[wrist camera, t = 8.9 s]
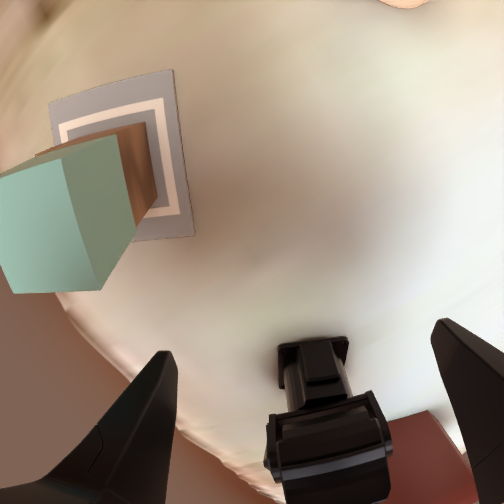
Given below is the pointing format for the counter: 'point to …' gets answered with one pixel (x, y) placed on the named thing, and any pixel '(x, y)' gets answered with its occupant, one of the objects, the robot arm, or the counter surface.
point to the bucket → (427, 464)
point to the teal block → (65, 218)
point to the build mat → (159, 138)
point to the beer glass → (404, 3)
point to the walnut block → (129, 164)
